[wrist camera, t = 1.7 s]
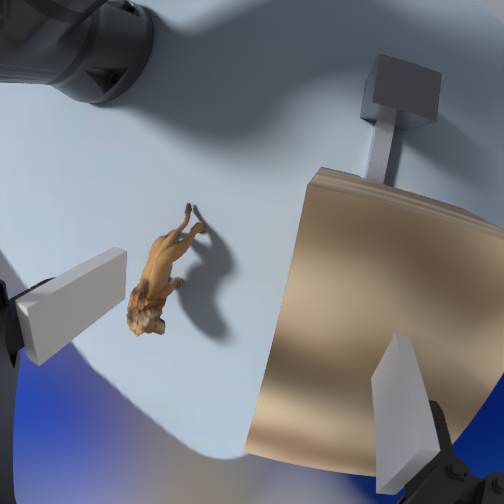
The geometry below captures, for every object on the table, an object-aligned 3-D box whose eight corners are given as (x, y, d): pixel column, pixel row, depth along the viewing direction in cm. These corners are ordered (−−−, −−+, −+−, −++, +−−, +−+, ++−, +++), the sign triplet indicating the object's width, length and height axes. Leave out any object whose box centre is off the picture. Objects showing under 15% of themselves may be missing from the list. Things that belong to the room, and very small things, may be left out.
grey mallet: (365, 82, 28) (379, 53, 18) (411, 94, 27) (441, 73, 18) (324, 279, 35) (319, 325, 26) (366, 290, 34) (375, 337, 25)
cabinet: (321, 166, 32) (307, 185, 13) (452, 202, 29) (564, 264, 10) (287, 319, 38) (243, 451, 19) (402, 345, 35) (431, 478, 16)
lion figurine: (185, 314, 41) (153, 351, 33) (151, 299, 42) (114, 331, 34) (210, 208, 36) (174, 227, 28) (170, 195, 37) (126, 209, 28)
